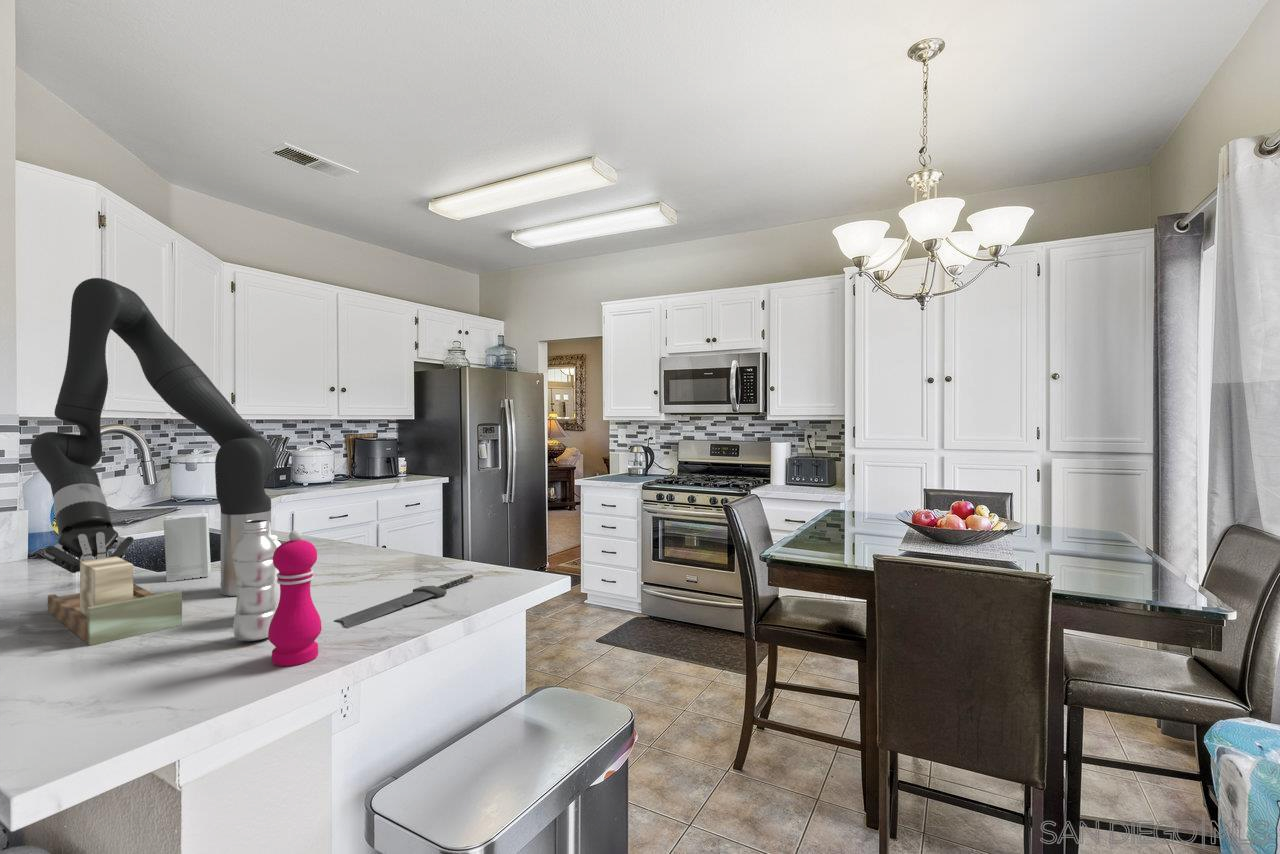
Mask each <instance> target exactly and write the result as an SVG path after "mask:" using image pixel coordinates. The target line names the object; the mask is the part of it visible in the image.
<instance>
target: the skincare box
mask: <svg viewBox="0 0 1280 854" xmlns="http://www.w3.org/2000/svg"><path fill="white" fill-rule="evenodd" d="M209 524H210V523H209V512H198V513H190V514H189V513H187V514H177V515H176V514H175V515H167V516H166V517H165V518H164V519H163V535H164V536H163V537H164V554H165V573H166V582H167V583H168V581H170V582H175V581H176V582H177V580H178V581H184V579H185V580H192V578H193V579H201V578H200V577H202V578H208V577H209V576H210V574H211V572H212V571H211V570H212V566H211V565H212V564H211V549H210V548H211V547H210V525H209Z"/></svg>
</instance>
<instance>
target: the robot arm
mask: <svg viewBox="0 0 1280 854" xmlns="http://www.w3.org/2000/svg"><path fill="white" fill-rule="evenodd" d="M70 307H71V308H70V324H69V325H70V326H69V335H68V336H69V337H68V350H67V357H66V358H67V359H66V364H65V371H64V376H63V379H62V383H61V386H60V389H59V394H58V397H57V401H56V405H55V407H54V416H55V417H56V418H57V419H58V420H60V421H64V422H67V423H71V424H73V425H76V426H77V428H78V430H79V434H75V433H66V432H60V431H59V432H58V431H47V432H46V431H45V432H43V433H41V434H38V435H37V436H36V437H35V438H34V439H33V441H32V442H31V445H30V457H31V459H32V461H33V463H34V465H35V466H36V468H37V469H38V470H39V471H40V473H41V475H43V477H44V478H45V480H46V481H47V482H48V484H49V485H50V490H51V493H52V499H53V516H54V518H55V522H56V526H57V530H58V535H59V538H58V542H57V544H55V545H48V546H47V547H46V548H45V551H44V555H43V558H44V559H45V560H47V561H48V562H51V563H53V564H54V565H57V566H58V567H60V568H61V569H64V570H66V571H67V572H70V573H71V574H76V573H78V572H79V573H80V561H87V560H94V559H101V558H107V553H108V552H109V551H110V549H111V548H112V547H113V545H114V544H116V546H115V548H116V549H115V550H114V551H113V552H112V554H111V555H110V556H109V557H116V556H117V557H119V558H121V559H123V557H124V556H125V555H126V554H127V553H128V551H129V550H130V549H131V548H132V546H133V543H134V537H132V536H127V537H123V536H120V535H119V533H118V532H117V531H116V530H115V529H114V526H113V522H112V518H111V515H110V511H109V507H108V503H107V500H106V497H105V495H104V493H103V490H102V487H101V486H102V485H101V483H100V480H99V476H98V473H97V471H96V470H95V469H94V467H95V466H96V465H97V464H98V463H99V462H100V460H101V458H102V456H103V443H102V434H101V433H102V432H101V416H102V414H103V409H104V405H105V402H106V397H107V393H108V387H109V374H108V368H107V366H108V365H107V360H106V359H107V358H106V356H107V355H106V353H107V352H106V351H107V350H106V347H107V341H108V337H109V333H110V332H111V331H112V332H114V333H115V334H116V335H117V336H118V337H119V338H120V339H121V340H122V341H123V342H124V343H126V345H127V346H128V347H129V348H130V349H131V350H132V351H133V353H134V354H135V356H136V358H137V360H138V362H139V365H140V367H141V370H142V372H143V375H144V377H145V379H146V381H147V382H148V384H149V385H150V386H151V387H152V389H153V390H154V391H155V392H156V393H157V395H158V396H159V397H160V398H161V399H162V400H163V401H164V402H165V403H166V404H167V405H168V406H169V407H170V408H172V410H174V411H175V412H176V413H177V414H178V415H180V416H182V417H183V418H184V419H186V420H188V421H189V422H191V423H192V424H194V425H195V426H197V427H198V428H200V429H201V430H203V431H204V432H205V433H207V434H208V435H209V436H210V437H211V438H212V439H213V440H214V441H215V442H216V443H217V444H218V446H219V448H218V450H217V453H216V456H215V462H214V475H215V478H214V479H215V495H216V499H217V502H218V504H219V507H220V595H223V596H230V597H231V596H233V597H234V596H235V597H237V584H236V574H235V569H234V563H233V562H234V561H233V552H234V549H235V548H236V546H237V545H238V543H239V542H240V541H241V540H242V538H243V537H244V534H243V533H242V530H243V522H245V521H250V520H268V521H269V522H270V527H271V528H272V500H271V497H270V496H268V494H267V493H266V491H265V483H264V480H265V479H264V478H265V477H266V476H269V474H271V473H272V472H274V470H275V468H276V466H277V459H278V458H277V457H278V456H277V453H276V450H275V448H274V447H273V445H272V444H271V443H270V442H269V441H267V439H266V438H265V437H263V436H262V435H261V434H260V433H259V432H258V431H257V430H256V429H255V428H254V427H252V426H251V425H250V424H249V423H248V422H247V421H246V420H245V419H244V418H243V417H242V416H241V415H240V414H239V413H238V412H237V410H236V409H235V408H234V406H232V404H231V403H230V402H229V401H228V400H227V398H226V397H225V396H224V395H223V393H221V391H220V390H219V389H218V388H217V387H216V385H214V383H213V382H212V381H211V378H209V377H208V376H207V375H206V374H205V372H204V371H203V370H202V369H201V368H200V366H198V364H196V362H195V361H194V360H193V359H192V358H191V357H190V356H189V355H188V354H187V352H185V351H184V350H183V348H182V347H181V346H180V345H178V343H176V341H174V340H173V339H172V338H171V337H170V336H169V335H168V333H166V331H165V330H164V329H163V327H162V326H161V324H159V322H158V320H157V318H156V317H155V316H154V315H153V313H152V312H151V311H150V309H149V307H148V306H147V305H146V303H145V302H144V300H143V299H142V298H141V297H140V296H139V295H138V293H137V292H135V291H133V290H132V289H130V288H128V287H125V286H123V285H120V284H119V283H116V282H114V281H113V280H110V279H107V278H102V277H101V278H100V277H92V278H88V279H85V280H82V281H81V282H80V283H79V284H78V285H77V286H76V288H75V289H74V291H73V294H72V299H71V306H70ZM267 535H268V532H267Z"/></svg>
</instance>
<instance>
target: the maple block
mask: <svg viewBox="0 0 1280 854" xmlns="http://www.w3.org/2000/svg"><path fill="white" fill-rule="evenodd" d="M133 583H134V564H133V563H131V562H129V561H127V560H125V559H123V558H122V559H121V558H119V557H117V556H116V557H110V556H109V557H106V558H101V559H94V558H93V560H87V561H80V572H79V593H80V613H81V614H83V615H84V616H85V617H87V618H88V607H93V606H99V605H104V604H109V603H115V602H120V601H126V600H131V599H133Z"/></svg>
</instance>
